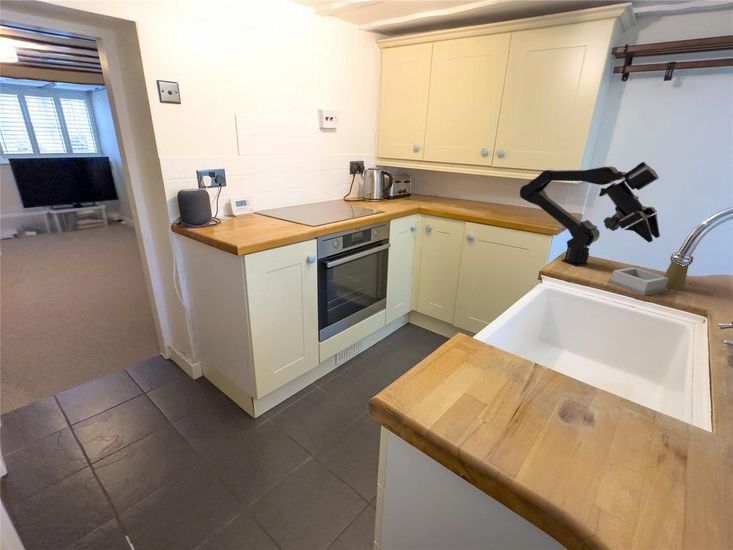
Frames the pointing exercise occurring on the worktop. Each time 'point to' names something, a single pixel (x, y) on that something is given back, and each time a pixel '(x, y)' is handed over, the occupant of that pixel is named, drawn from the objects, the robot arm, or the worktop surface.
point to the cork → (676, 275)
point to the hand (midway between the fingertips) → (654, 239)
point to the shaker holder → (639, 281)
